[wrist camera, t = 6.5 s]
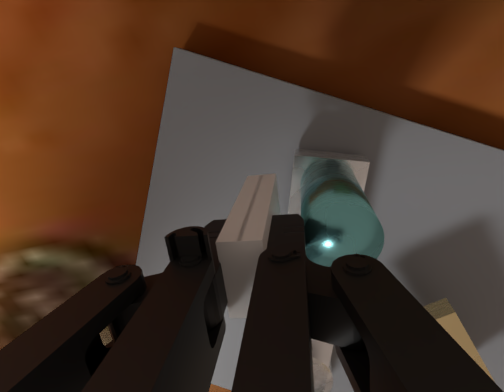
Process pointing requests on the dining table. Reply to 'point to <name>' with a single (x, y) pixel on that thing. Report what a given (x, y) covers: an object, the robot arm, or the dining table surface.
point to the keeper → (455, 329)
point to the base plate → (376, 189)
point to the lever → (333, 222)
